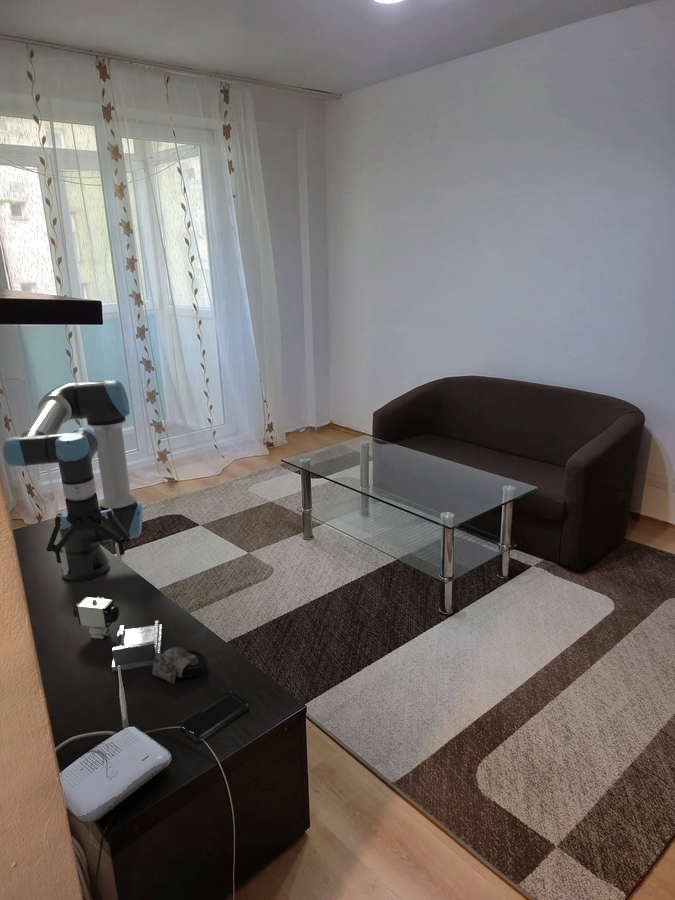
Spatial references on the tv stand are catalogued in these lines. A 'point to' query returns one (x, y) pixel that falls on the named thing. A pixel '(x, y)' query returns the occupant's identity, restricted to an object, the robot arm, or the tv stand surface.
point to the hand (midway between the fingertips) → (93, 569)
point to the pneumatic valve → (96, 615)
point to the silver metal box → (137, 646)
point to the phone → (214, 716)
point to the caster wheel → (178, 664)
